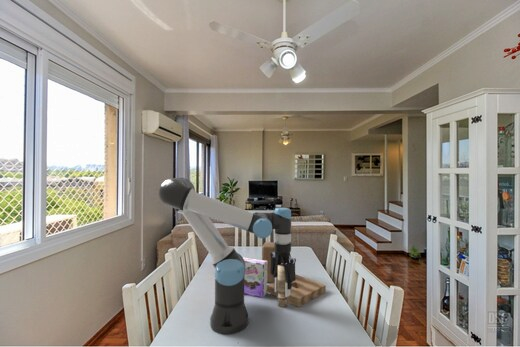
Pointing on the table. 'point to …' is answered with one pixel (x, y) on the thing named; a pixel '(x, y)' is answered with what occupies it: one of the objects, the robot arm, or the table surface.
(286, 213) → the robot arm
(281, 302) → the peg
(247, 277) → the candy box
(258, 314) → the table surface
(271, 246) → the wooden block
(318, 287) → the board
